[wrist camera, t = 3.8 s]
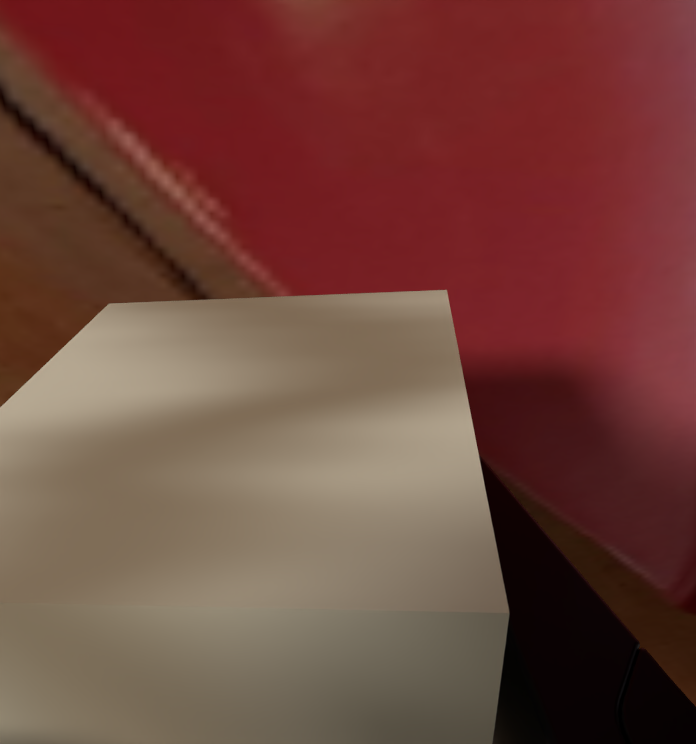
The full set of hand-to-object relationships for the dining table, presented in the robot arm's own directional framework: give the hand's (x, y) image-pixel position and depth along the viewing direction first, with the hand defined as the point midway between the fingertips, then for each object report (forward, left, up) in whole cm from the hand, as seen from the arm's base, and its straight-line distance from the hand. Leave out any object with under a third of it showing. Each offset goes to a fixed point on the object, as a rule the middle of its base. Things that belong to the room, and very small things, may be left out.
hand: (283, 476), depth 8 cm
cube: (0, 0, -1) cm, 1 cm away
